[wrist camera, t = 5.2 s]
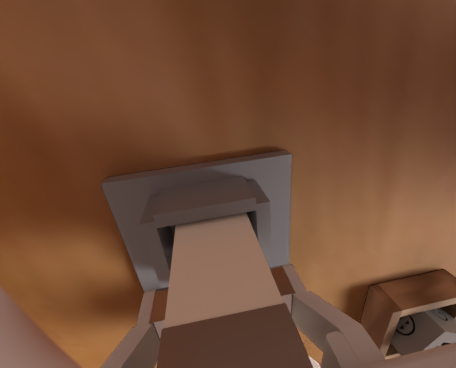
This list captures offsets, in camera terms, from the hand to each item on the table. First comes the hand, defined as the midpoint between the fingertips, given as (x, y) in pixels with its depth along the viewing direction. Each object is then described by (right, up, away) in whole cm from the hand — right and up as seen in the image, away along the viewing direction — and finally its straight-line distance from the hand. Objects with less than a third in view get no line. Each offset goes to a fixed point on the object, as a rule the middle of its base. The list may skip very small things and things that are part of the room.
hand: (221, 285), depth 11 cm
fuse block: (-1, -2, +8) cm, 8 cm away
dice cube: (+20, -9, +15) cm, 27 cm away
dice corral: (+20, -9, +15) cm, 27 cm away
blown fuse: (-1, +2, +4) cm, 4 cm away
